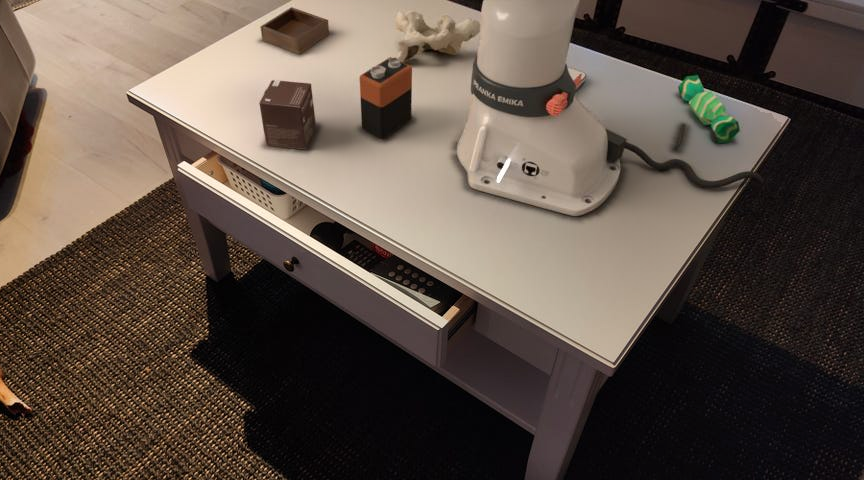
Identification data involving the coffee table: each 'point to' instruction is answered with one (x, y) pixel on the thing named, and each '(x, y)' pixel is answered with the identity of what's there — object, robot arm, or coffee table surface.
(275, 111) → the box
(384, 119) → the battery
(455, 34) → the decorative object
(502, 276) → the coffee table surface
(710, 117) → the candy
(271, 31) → the tray
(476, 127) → the robot arm
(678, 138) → the stick
